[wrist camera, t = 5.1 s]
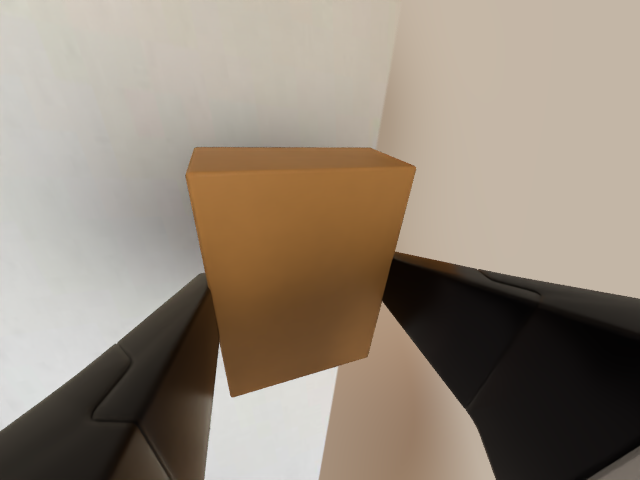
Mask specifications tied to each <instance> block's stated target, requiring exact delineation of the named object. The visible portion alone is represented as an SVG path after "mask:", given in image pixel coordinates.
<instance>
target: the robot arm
mask: <svg viewBox="0 0 640 480" xmlns="http://www.w3.org/2000/svg"><path fill="white" fill-rule="evenodd" d="M382 301H383V303H384V304H385V305H386V307H387V308H388V309H389V311H390V312H391V313H392V314H393V316H394V317H395V318H396V320H397V321H398V322H399V324H400V325H401V326H402V328H403V329H404V330H405V331H406V333H407V334H408V335H409V336H410V338H411V339H412V341H413V342H414V343H415V344H416V346H417V347H418V348H419V350H420V351H421V352H422V354H423V355H424V356H425V358H426V359H427V360H428V361H429V363H430V364H431V365H432V367H433V368H434V369H435V371H436V372H437V373H438V374H439V376H440V377H441V378H442V380H443V381H444V382H445V384H446V385H447V386H448V388H449V389H450V390H451V391H452V393H453V394H454V395H455V397H456V398H457V399H458V401H459V402H460V403H461V404H462V406H463V407H464V408H465V409H466V411H467V412H468V414H469V415H470V417H471V418H472V420H473V421H474V423H475V425H476V427H477V429H478V431H479V434H480V436H481V439H482V442H483V445H484V448H485V450H486V453H487V456H488V459H489V462H490V464H491V467H492V470H493V473H494V475H495V478H496V480H640V299H638V298H632V297H627V296H621V295H615V294H610V293H604V292H599V291H593V290H587V289H582V288H576V287H571V286H565V285H560V284H554V283H549V282H543V281H537V280H532V279H526V278H521V277H516V276H510V275H506V274H501V273H495V272H491V271H486V270H481V269H478V270H477V269H475V268H470V267H465V266H460V265H456V264H451V263H447V262H442V261H437V260H432V259H427V258H422V257H418V256H413V255H409V254H404V253H399V252H395V253H394V257H393V259H392V262H391V266H390V270H389V274H388V278H387V282H386V285H385V289H384V293H383V297H382ZM219 338H220V335H219V330H218V325H217V319H216V314H215V309H214V304H213V299H212V294H211V290H210V289H209V287H208V284H207V279H206V274H205V273H201V274H199V275H198V276H196V277H195V278H194V279H193V280H192V281H190V282H189V283H188V284H187V285H186V286H184V287H183V288H182V289H181V290H180V291H178V292H177V293H176V294H175V295H174V296H172V297H171V298H170V299H169V300H168V301H166V302H165V303H164V304H163V305H162V306H160V307H159V308H158V309H157V310H156V311H154V312H153V313H152V314H151V315H150V316H148V317H147V318H146V319H145V320H144V321H142V322H141V323H140V324H139V325H138V326H136V327H135V328H134V329H133V330H132V331H130V332H129V333H128V334H127V335H126V336H124V337H123V338H122V339H121V340H120V341H118V343H117V344H114V345H113V346H112V347H110V348H109V349H108V350H107V351H105V352H104V353H103V354H102V355H101V356H99V357H98V358H97V359H96V360H94V361H93V362H92V363H91V364H89V365H88V366H87V367H86V368H84V369H83V370H82V371H81V372H79V373H78V374H77V375H76V376H74V377H73V378H72V379H70V380H69V381H68V382H66V383H65V384H64V385H62V386H61V387H60V388H58V389H57V390H56V391H54V392H53V393H52V394H50V395H49V396H48V397H46V398H45V399H44V400H42V401H41V402H40V403H38V404H37V405H36V406H34V407H33V408H31V409H30V410H29V411H27V412H26V413H25V414H23V415H22V416H21V417H19V418H18V419H16V420H15V421H14V422H12V423H11V424H10V425H8V426H7V427H6V428H4V429H3V430H1V431H0V480H204V476H205V467H206V458H207V449H208V440H209V431H210V422H211V413H212V404H213V394H214V385H215V376H216V367H217V358H218V349H219Z"/></svg>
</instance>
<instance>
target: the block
mask: <svg viewBox="0 0 640 480" xmlns="http://www.w3.org/2000/svg"><path fill="white" fill-rule="evenodd" d="M415 171H416V167H415V166H413V165H411V164H408V163H406V162H404V161H401V160H399V159H396V158H394V157H391V156H389V155H387V154H384V153H382V152H379V151H377V150H374V149H372V148H318V147H196V148H194V150H193V153H192V156H191V159H190V162H189V165H188V169H187V172H186V175H185V177H186V181H187V186H188V191H189V196H190V201H191V206H192V211H193V216H194V220H195V225H196V230H197V235H198V240H199V245H200V250H201V255H202V259H203V264H204V269H205V274H206V279H207V284H208V287H209V289H210V290H211V294H212V299H213V304H214V309H215V314H216V319H217V325H218V330H219V335H220V338H219V342H220V347H221V352H222V357H223V362H224V367H225V372H226V376H227V381H228V386H229V391H230V396H231V397H236V396H239V395H243V394H246V393H249V392H253V391H256V390H259V389H263V388H266V387H269V386H273V385H276V384H279V383H283V382H286V381H289V380H293V379H296V378H299V377H303V376H306V375H309V374H313V373H316V372H319V371H323V370H326V369H329V368H333V367H336V366H339V365H343V364H346V363H349V362H353V361H356V360H359V359H363V358H366V357H367V356H368V354H369V350H370V346H371V342H372V338H373V334H374V330H375V326H376V323H377V319H378V315H379V311H380V307H381V303H382V297H383V293H384V289H385V285H386V282H387V278H388V274H389V270H390V266H391V262H392V259H393V257H394V253H395V249H396V245H397V241H398V237H399V233H400V229H401V226H402V222H403V218H404V214H405V210H406V206H407V202H408V198H409V194H410V191H411V187H412V183H413V179H414V175H415Z"/></svg>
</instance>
